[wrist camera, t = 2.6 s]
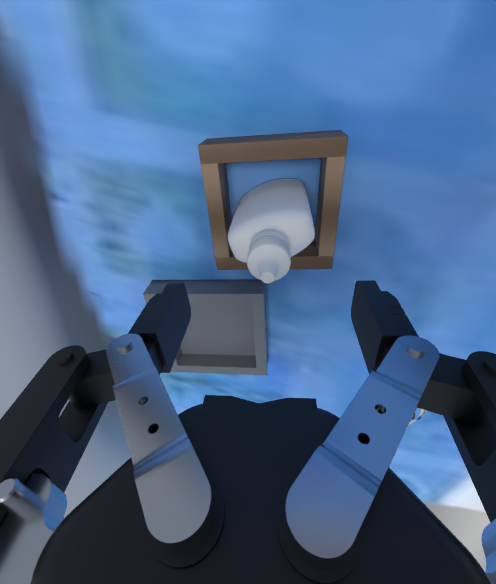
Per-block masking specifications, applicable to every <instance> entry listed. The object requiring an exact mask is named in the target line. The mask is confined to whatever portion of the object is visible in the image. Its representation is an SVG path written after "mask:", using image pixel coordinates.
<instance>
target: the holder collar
mask: <svg viewBox="0 0 496 584" xmlns="http://www.w3.org/2000/svg"><path fill="white" fill-rule="evenodd" d="M347 141H348V135H346V134H345V133H343V132H342V131H341V130H335V131H320V132H304V133H289V134H274V135H259V136H243V137H228V138H213V139H206V140H205V141H203V142H202V143H201V144H199V145H198V149H199V156H200V162H201V169H202V175H203V181H204V188H205V194H206V201H207V207H208V214H209V220H210V227H211V233H212V240H213V246H214V252H215V259H216V265H217V270H240V269H248V266H247V263H245V262H241V261H239V260H237V259H236V258H235V256H234V254H233V252H232V250H231V248H230V245H229V242H228V232H229V229H230V226H231V223H232V221H231V212H230V202H229V193H228V184H227V174H226V165H225V163H234V162H252V161H270V160H288V159H306V158H321V168H320V181H319V194H318V207H317V221H316V234H315V240H313V241H312V242H311V243H310V244H309V245H308V246H307V247H306V248H305V249H303V250H302V251H300V252H299V253H297V254H296V255H294V256H292V257H291V266H290V269H332V264H333V256H334V248H335V240H336V231H337V223H338V215H339V207H340V199H341V190H342V182H343V174H344V166H345V158H346V150H347Z"/></svg>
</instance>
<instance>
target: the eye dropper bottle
mask: <svg viewBox="0 0 496 584" xmlns="http://www.w3.org/2000/svg"><path fill="white" fill-rule="evenodd" d="M314 237H315V229H314V224H313V219H312V215H311V210H310V206H309V202H308V197H307V193H306V189H305V185H304V184H303V182H302V181H300V180H298V179H291V178H285V179H276V180H271V181H268V182H265V183H262V184H260V185H258V186H256V187H255V188H253V189H251V190H250V191H249V192H247V193H246V194H245V195H244V196H243V197H242V198H241V199H240V201H239V203H238V206H237V209H236V212H235V214H234V217H233V220H232V223H231V226H230V229H229V232H228V242H229V245H230V248H231V250H232V252H233V254H234V256H235V258H236V259H237V260H239V261H241V262H245V263H247V266H248V269H249V271H250V273H252V275H253V276H254V277H256V278H258V279H260V280H262V281H263V282H264V283H271V282H273V281H276V280H279V279H281V278H282V277H283V276H285V275H286V273H288V271H289V269H290V266H291V257H292V256H294V255H296V254H297V253H299V252H300V251H302V250H303V249H305V248H306V247H307V246H308V245H309V244H310V243H311V242H312V241H313V240H314Z"/></svg>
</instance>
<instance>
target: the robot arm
mask: <svg viewBox="0 0 496 584" xmlns="http://www.w3.org/2000/svg"><path fill="white" fill-rule="evenodd" d="M351 318H352V323H353V326H354V329H355V332H356V335H357V338H358V341H359V344H360V347H361V350H362V353H363V356H364V360H365V363H366V366H367V369H368V372H369V376H368V377H367V379H366V380H365V382H364V383H363V385H362V386H361V388H360V389H359V391H358V392H357V394H356V395H355V397H354V398H353V400H352V401H351V403H350V404H349V406H348V407H347V409H346V410H345V412H344V413H343V415H342V416H341V418H338V417H337V416H335V415H334V414H332V413H330V412H328V411H325V410H323V409H320V408H317V405H316V399H309V398H284V399H279V400H274V401H269V402H265V403H255V402H251V401H247V400H244V399H240V398H237V397H233V396H217V395H205V398H204V402H203V404H200V405H197V406H194V407H191V408H189V409H187V410H185V411H184V412H182V413H180V414H179V415H177V412H176V410H175V408H174V406H173V404H172V402H171V399H170V397H169V395H168V393H167V391H166V389H165V386H164V384H163V382H162V380H161V378H160V373H170V371H171V369H172V366H173V363H174V361H175V358H176V356H177V353H178V351H179V348H180V345H181V343H182V340H183V338H184V335H185V333H186V330H187V327H188V325H189V322H190V319H191V307H190V303H189V299H188V294H187V290H186V286H185V284H184V283H167V285H166V286H165V288H164V290H163V291H162V293H157V294H156V295H155V296H153V297H152V298H151V299H150V300H149V301H148V303H147V304H146V306H145V308H144V309H143V311H142V312H141V314H140V315H139V317H138V319H137V320H136V322H135V323H134V325H133V327H132V328H131V330H130V331H129V333H128V334H125V335H122V336H119V337H117V338H116V339H114V340H113V341H112V342H111V343H110V344H109V345H108V347H107V349H105V350H101V351H97V352H92V353H88V354H87V353H86V351H85V350H84V348H83V347H81V346H69V347H65V348H63V349H61V350H59V351H57V352H56V353H55V354H53V355H52V356H51V357H50V358H49V359H48V360H47V361H46V363H45V364H44V366H43V367H42V368H41V369H40V370H39V372H38V373H37V374H36V375H35V377H34V378H33V379H32V380H31V382H30V383H29V384H28V385H27V387H26V388H25V389H24V391H23V392H22V393H21V394H20V396H19V397H18V398H17V399H16V401H15V402H14V403H13V404H12V406H11V407H10V408H9V409H8V411H7V412H6V413H5V414H4V416H3V417H2V418H1V420H0V584H496V354H494V353H490V352H483V351H478V352H474V353H472V354H470V355H469V357H468V358H467V360H464V359H460V358H456V357H451V356H447V355H443V354H441V353H439V351H438V350H437V348H436V347H435V346H434V345H433V344H432V343H430V342H429V341H427V340H425V339H423V338H420V337H419V336H418V335H417V333H416V331H415V330H414V328H413V326H412V324H411V323H410V321H409V319H408V317H407V316H406V315H405V312H404V310H403V309H402V308H401V305H400V304H399V302H398V300H397V298H395V297H394V296H393V295H392V294H390V293H389V292H388V291H380V289H379V287H378V285H377V283H376V281H374V280H371V281H357V282H356V284H355V289H354V295H353V301H352V307H351ZM68 399H69V400H70V401H69V403H68V404H67V406H66V408H65V409H64V411H63V412H62V414H61V416H60V417H59V414H60V412H61V410H62V408H63V407H64V405H65V403H66V402H67V400H68ZM113 400H116V402H117V406H118V410H119V413H120V417H121V421H122V425H123V429H124V432H125V436H126V439H127V443H128V447H129V451H130V454H131V458H130V459H129V460H127V461H126V462H125V463H124V464H123V465H122V466H121V467H120V468H119V469H118V470H117V471H115V472H114V473H113V474H112V475H111V476H110V477H109V478H108V479H107V480H106V481H105V482H103V483H102V484H101V485H100V486H99V487H98V488H97V489H96V490H95V491H93V493H91V495H89V496H88V497H87V498H86V499H85V500H84V501H83V502H81V503H80V504H79V505H78V506H77V507H76V508H75V509H74V510H73V511H72V512H71V513H70V514H69V515H67V516H66V518H64V514H65V511H66V507H67V498H66V495H65V493H64V492H65V490H66V487H67V485H68V483H69V481H70V479H71V477H72V475H73V473H74V471H75V469H76V467H77V465H78V463H79V461H80V459H81V457H82V455H83V453H84V451H85V448H86V446H87V444H88V442H89V440H90V438H91V436H92V434H93V432H94V430H95V428H96V426H97V424H98V422H99V420H100V417H101V416H102V414H103V411H104V409H105V407H106V405H107V403H108V402H109V401H113ZM416 407H417V408H421V409H424V410H427V411H431V412H434V413H437V414H440V415H443V416H444V418H445V421H446V423H447V425H448V427H449V430H450V432H451V434H452V436H453V439H454V441H455V443H456V445H457V448H458V450H459V452H460V455H461V457H462V459H463V461H464V464H465V466H466V468H467V470H468V473H469V475H470V477H471V479H472V482H473V484H474V486H475V488H476V491H477V493H478V495H479V497H480V500H481V502H482V504H483V506H484V509H485V511H486V513H487V515H488V518H489V520H490V522H491V523H490V524H489V525H488V526H486V527H485V529H484V530H483V533H482V546H483V549H484V553H485V556H486V572H484V571H483V569H482V568H481V566H480V565H479V563H478V562H477V560H476V559H475V558H474V557H473V555H472V554H471V553H470V552H469V551H468V550H467V548H466V547H465V546H464V545H463V544H462V543H461V542H460V541H459V540H458V539H457V538H456V537H455V536H454V535H453V534H452V533H451V531H450V530H449V529H448V528H447V527H446V526H445V525H444V524H443V523H442V522H441V521H440V520H439V519H438V518H437V517H436V516H435V515H434V514H433V513H432V512H431V511H430V510H429V509H428V508H427V506H426V505H425V504H424V503H423V502H422V501H421V500H420V499H419V498H418V497H417V496H416V495H415V494H414V493H413V492H412V491H411V490H410V489H409V488H408V487H407V486H406V485H405V484H404V483H403V481H402V480H401V479H400V478H399V477H398V476H397V475H396V474H395V473H394V472H393V471H392V470H391V469H390V468H389V466H390V464H391V461H392V459H393V457H394V455H395V453H396V451H397V448H398V446H399V444H400V442H401V440H402V438H403V435H404V433H405V431H406V429H407V427H408V425H409V422H410V420H411V418H412V416H413V414H414V412H415V410H416Z"/></svg>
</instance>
